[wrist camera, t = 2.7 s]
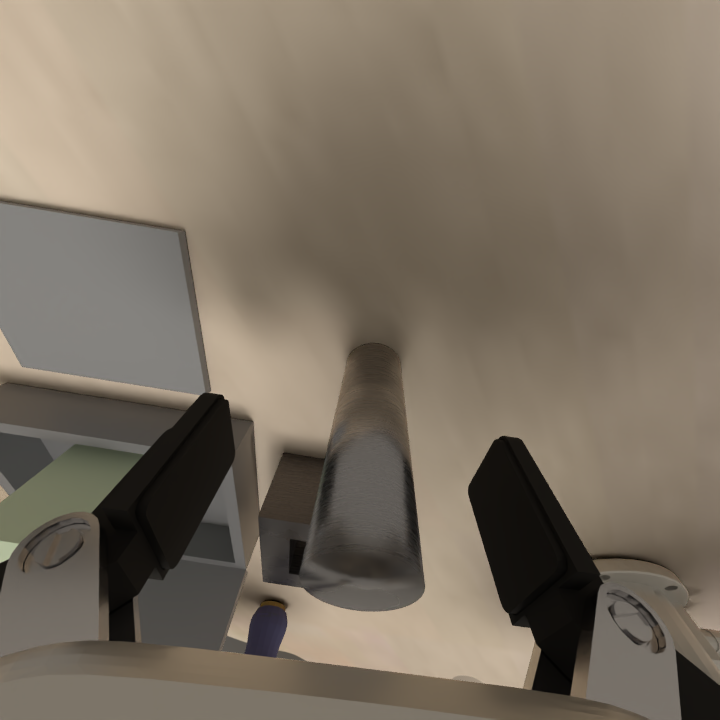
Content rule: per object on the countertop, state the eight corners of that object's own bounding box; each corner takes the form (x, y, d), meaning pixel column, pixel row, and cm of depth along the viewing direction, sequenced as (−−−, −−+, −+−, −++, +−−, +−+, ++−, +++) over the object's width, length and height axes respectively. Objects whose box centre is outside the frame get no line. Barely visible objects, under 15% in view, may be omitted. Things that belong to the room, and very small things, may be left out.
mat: (184, 231, 12) (177, 232, 12) (210, 391, 17) (206, 396, 16) (-61, 190, 12) (-77, 190, 12) (31, 362, 17) (22, 366, 16)
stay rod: (406, 348, 15) (441, 564, 6) (394, 393, 16) (408, 618, 7) (350, 338, 14) (300, 542, 6) (343, 385, 16) (297, 601, 7)
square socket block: (396, 470, 19) (400, 538, 15) (377, 532, 23) (375, 598, 19) (283, 452, 19) (258, 516, 15) (283, 517, 23) (263, 581, 19)
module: (166, 435, 18) (60, 550, 12) (179, 482, 21) (97, 596, 15) (99, 424, 18) (-41, 534, 12) (121, 473, 21) (14, 584, 15)
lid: (122, 936, 12) (130, 926, 12) (246, 569, 22) (247, 572, 22) (-252, 884, 12) (-229, 876, 12) (44, 538, 22) (50, 542, 22)
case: (252, 421, 18) (230, 459, 15) (260, 530, 24) (246, 569, 22) (6, 382, 18) (-58, 413, 15) (80, 502, 24) (44, 538, 22)
